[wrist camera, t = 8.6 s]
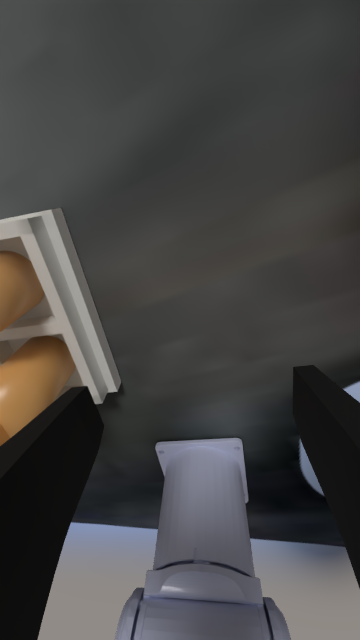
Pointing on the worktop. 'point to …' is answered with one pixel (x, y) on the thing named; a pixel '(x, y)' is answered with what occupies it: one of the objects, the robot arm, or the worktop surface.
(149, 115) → the worktop surface
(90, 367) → the housing
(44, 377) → the peg
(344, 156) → the worktop surface
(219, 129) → the worktop surface
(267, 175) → the worktop surface
